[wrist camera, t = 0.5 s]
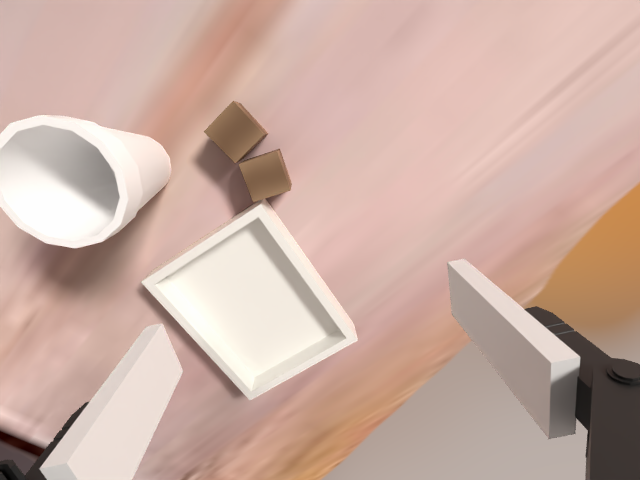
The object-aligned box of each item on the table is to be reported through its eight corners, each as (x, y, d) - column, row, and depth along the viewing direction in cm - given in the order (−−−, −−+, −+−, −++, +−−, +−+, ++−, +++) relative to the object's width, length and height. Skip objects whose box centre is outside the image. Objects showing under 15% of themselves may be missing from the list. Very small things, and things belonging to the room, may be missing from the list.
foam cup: (144, 223, 38) (70, 270, 26) (76, 159, 36) (-41, 178, 24) (204, 170, 37) (154, 193, 25) (137, 98, 34) (45, 84, 22)
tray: (154, 269, 40) (140, 282, 37) (264, 197, 38) (260, 204, 35) (253, 380, 46) (249, 400, 43) (353, 323, 44) (357, 340, 41)
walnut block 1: (214, 130, 36) (203, 131, 32) (240, 103, 35) (233, 101, 31) (242, 159, 37) (235, 163, 33) (268, 133, 36) (264, 134, 32)
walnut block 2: (245, 160, 37) (238, 164, 33) (279, 148, 37) (277, 151, 33) (258, 194, 38) (253, 202, 34) (291, 183, 38) (290, 190, 34)
